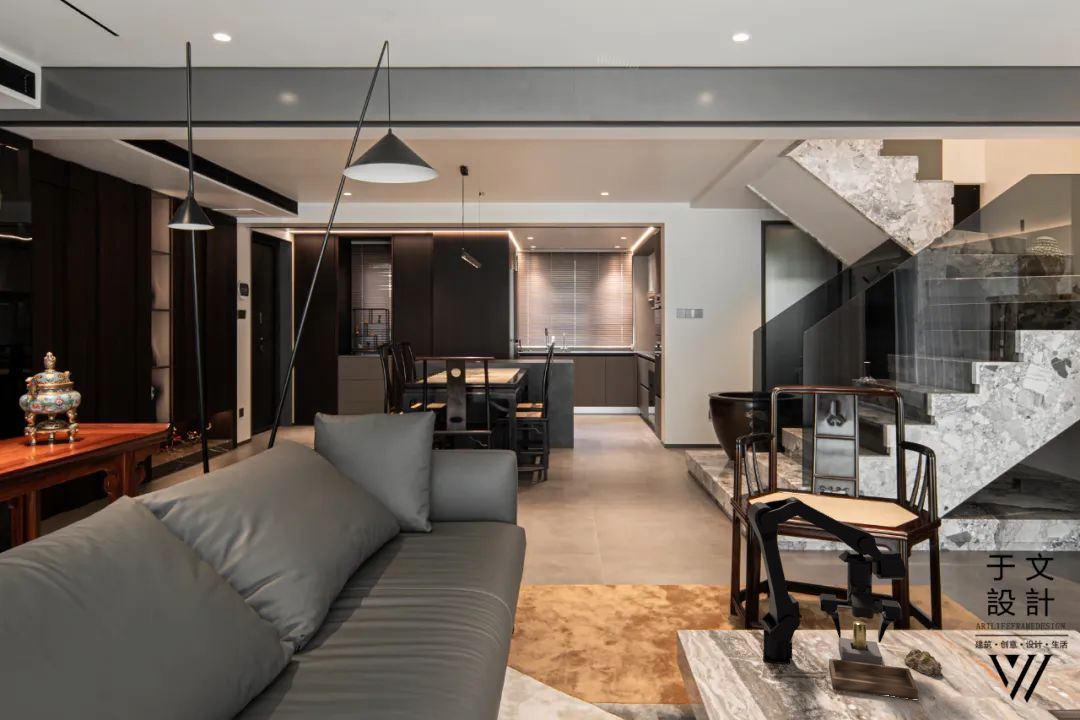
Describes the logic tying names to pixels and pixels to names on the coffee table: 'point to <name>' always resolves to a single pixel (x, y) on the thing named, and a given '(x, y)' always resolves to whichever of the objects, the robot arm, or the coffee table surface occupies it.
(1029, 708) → the coffee table surface
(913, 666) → the mineral rock
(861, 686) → the walnut tray
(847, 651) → the block
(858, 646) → the brass pin
